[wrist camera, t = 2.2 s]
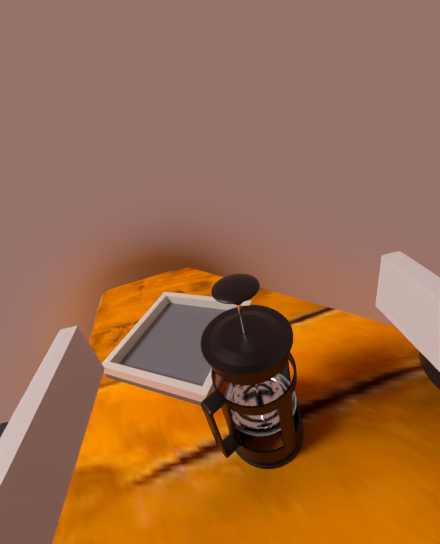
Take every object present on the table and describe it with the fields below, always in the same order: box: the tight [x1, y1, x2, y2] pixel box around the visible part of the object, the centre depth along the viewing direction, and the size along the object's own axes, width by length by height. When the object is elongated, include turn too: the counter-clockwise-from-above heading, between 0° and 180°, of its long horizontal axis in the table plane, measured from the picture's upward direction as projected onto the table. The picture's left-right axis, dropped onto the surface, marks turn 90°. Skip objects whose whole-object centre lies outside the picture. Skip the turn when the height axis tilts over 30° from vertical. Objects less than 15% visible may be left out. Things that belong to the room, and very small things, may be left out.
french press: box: [200, 274, 303, 469], centre depth 29 cm, size 12×9×23 cm
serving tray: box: [102, 292, 252, 405], centre depth 51 cm, size 20×20×3 cm
